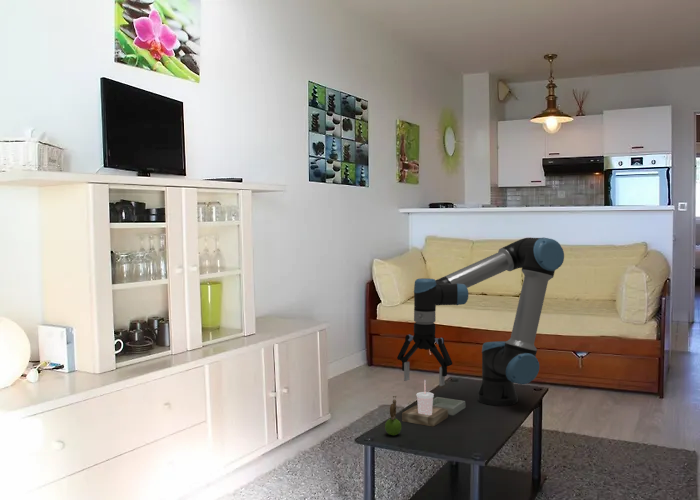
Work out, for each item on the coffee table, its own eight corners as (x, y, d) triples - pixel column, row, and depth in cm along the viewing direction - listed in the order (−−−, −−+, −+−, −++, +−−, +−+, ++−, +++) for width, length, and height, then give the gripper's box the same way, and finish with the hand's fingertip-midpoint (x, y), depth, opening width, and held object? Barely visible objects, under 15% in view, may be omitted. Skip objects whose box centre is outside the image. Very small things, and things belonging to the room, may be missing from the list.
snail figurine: (403, 431, 212) (402, 396, 211) (400, 438, 205) (400, 401, 205) (386, 430, 213) (386, 395, 212) (383, 437, 207) (383, 400, 206)
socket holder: (447, 417, 227) (447, 409, 227) (433, 426, 217) (433, 417, 217) (417, 412, 233) (417, 404, 233) (402, 421, 223) (402, 412, 223)
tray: (465, 407, 239) (465, 400, 239) (453, 415, 229) (453, 408, 229) (436, 403, 245) (436, 396, 245) (423, 410, 235) (423, 404, 235)
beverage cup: (413, 418, 227) (413, 379, 226) (428, 416, 229) (428, 377, 228) (421, 422, 221) (421, 382, 220) (437, 420, 223) (436, 381, 223)
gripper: (388, 321, 227) (387, 380, 228) (453, 327, 214) (453, 389, 215) (398, 318, 233) (397, 376, 234) (462, 324, 220) (461, 385, 221)
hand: (424, 382), depth 224 cm, fingers open, 13 cm apart
